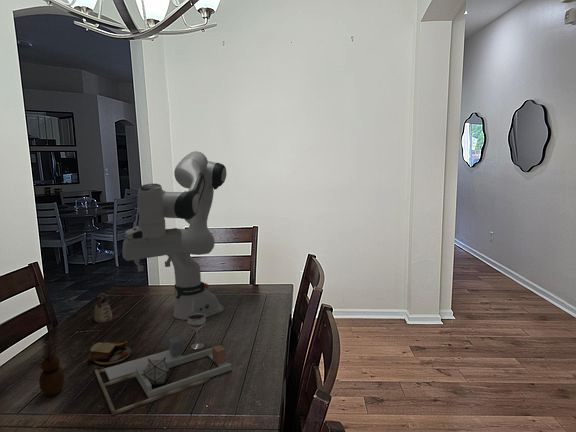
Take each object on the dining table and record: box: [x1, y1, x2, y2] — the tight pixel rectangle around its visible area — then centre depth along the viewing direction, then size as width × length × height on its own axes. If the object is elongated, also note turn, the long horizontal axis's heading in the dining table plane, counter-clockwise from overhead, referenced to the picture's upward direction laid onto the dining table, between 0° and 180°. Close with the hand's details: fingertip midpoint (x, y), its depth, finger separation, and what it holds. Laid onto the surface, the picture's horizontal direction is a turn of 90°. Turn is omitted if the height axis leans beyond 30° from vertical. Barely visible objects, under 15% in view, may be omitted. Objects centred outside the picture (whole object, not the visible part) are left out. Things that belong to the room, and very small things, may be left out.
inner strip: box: [104, 336, 184, 382], centre depth 131 cm, size 24×8×6 cm, turn 126°
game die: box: [141, 357, 172, 386], centre depth 121 cm, size 9×8×10 cm
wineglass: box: [187, 312, 207, 350], centre depth 145 cm, size 7×7×12 cm
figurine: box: [93, 292, 113, 324], centre depth 169 cm, size 7×7×12 cm
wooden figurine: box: [38, 342, 66, 397], centre depth 116 cm, size 7×6×15 cm
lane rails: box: [94, 349, 210, 416], centre depth 125 cm, size 29×26×1 cm
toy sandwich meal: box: [87, 341, 132, 366], centre depth 138 cm, size 12×14×5 cm
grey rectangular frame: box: [135, 344, 233, 399], centre depth 127 cm, size 27×14×5 cm, turn 126°
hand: (154, 268), depth 138 cm, fingers open, 8 cm apart
